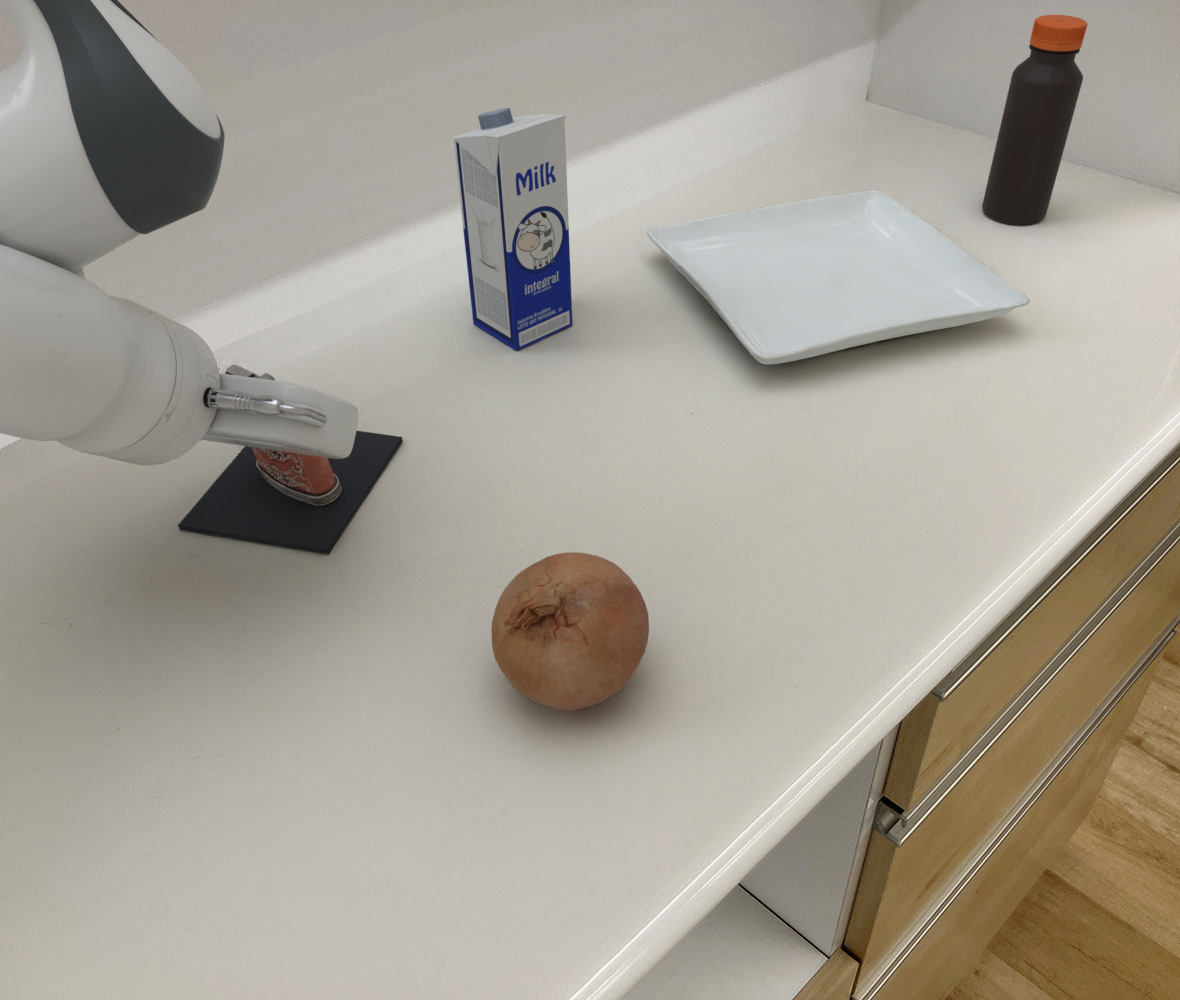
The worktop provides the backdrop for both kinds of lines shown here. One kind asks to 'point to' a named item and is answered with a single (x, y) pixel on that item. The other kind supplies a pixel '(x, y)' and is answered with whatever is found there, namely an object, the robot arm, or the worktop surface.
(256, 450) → the lighter
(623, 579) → the onion
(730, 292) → the square plate
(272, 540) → the mat
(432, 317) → the worktop surface
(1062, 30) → the bottle
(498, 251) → the milk carton
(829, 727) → the worktop surface
